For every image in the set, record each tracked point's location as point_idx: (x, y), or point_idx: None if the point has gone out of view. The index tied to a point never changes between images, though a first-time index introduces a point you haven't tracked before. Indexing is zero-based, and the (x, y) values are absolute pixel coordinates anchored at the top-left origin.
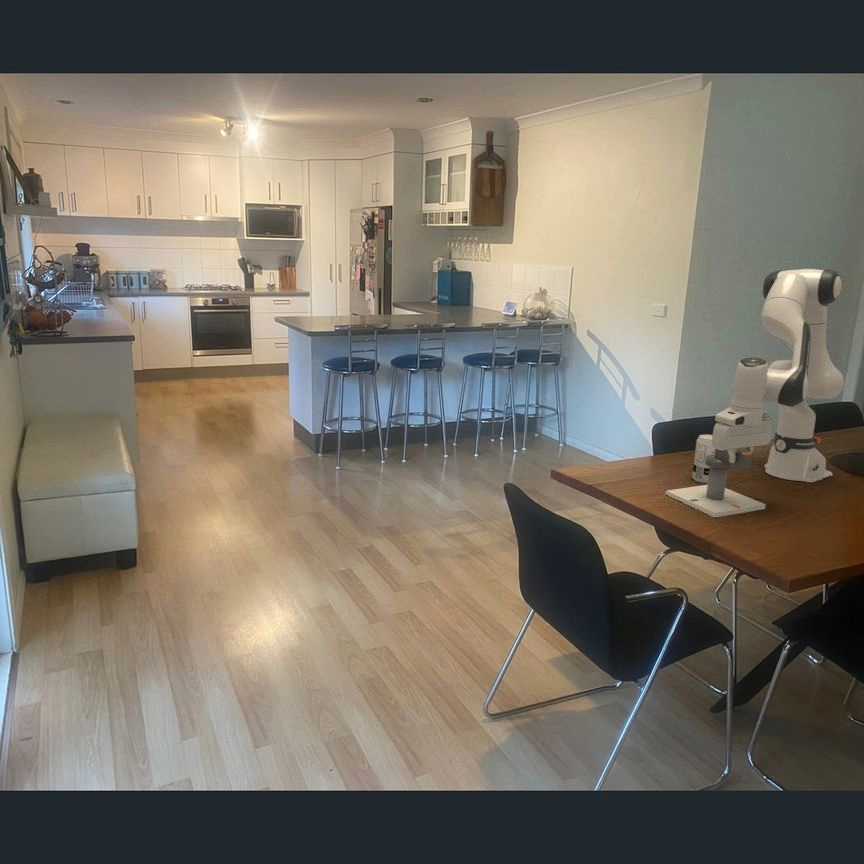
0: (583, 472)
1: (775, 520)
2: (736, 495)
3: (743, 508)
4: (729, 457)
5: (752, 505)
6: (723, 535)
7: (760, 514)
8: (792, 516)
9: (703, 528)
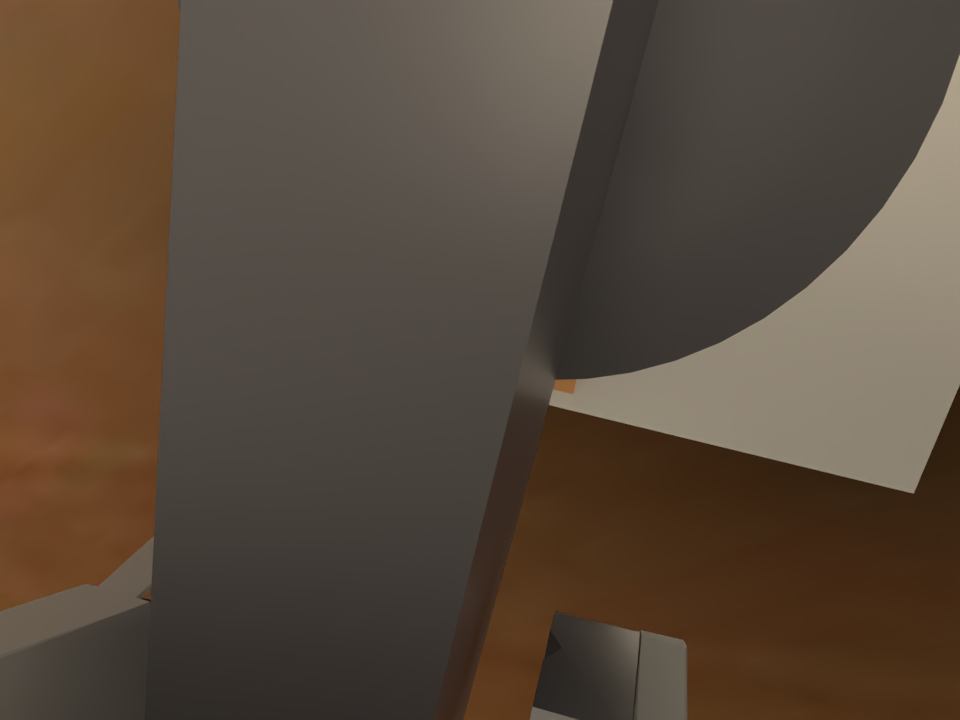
0: None
1: (670, 632)
2: (952, 139)
3: (587, 411)
4: (125, 562)
5: (743, 430)
6: (73, 525)
7: (702, 503)
8: (912, 686)
9: (31, 387)
